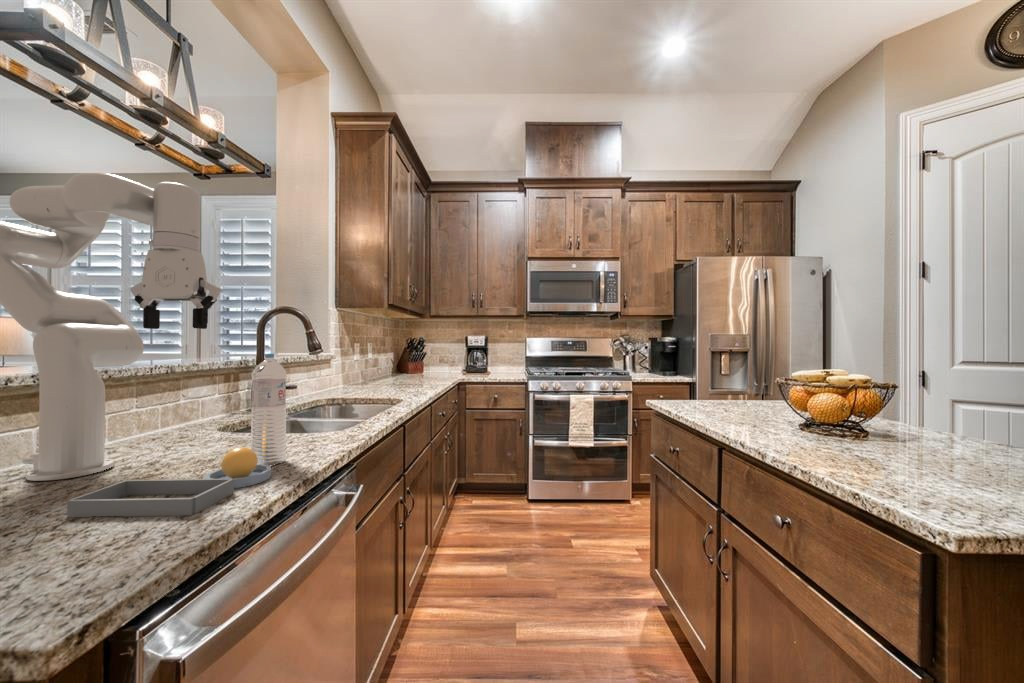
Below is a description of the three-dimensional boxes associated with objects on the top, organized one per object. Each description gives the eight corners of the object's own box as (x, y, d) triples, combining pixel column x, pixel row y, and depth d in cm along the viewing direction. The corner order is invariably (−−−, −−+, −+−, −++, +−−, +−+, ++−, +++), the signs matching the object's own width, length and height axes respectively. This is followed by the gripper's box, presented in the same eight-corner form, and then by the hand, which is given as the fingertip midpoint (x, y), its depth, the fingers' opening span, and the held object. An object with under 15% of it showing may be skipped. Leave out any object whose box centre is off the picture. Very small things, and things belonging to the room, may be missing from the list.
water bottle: (269, 468, 88) (270, 353, 88) (242, 467, 89) (244, 353, 90) (292, 460, 95) (293, 353, 95) (267, 458, 96) (268, 353, 97)
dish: (190, 490, 74) (190, 480, 74) (229, 472, 85) (229, 464, 85) (250, 489, 75) (250, 480, 75) (281, 471, 86) (281, 463, 86)
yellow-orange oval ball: (212, 482, 77) (214, 450, 77) (233, 472, 83) (234, 443, 83) (244, 483, 77) (246, 451, 77) (263, 473, 83) (264, 444, 83)
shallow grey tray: (64, 517, 62) (65, 501, 62) (125, 494, 73) (126, 480, 73) (192, 515, 63) (192, 499, 63) (235, 492, 73) (235, 478, 73)
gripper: (116, 240, 80) (115, 327, 79) (206, 241, 80) (205, 327, 80) (149, 250, 87) (148, 329, 87) (231, 250, 88) (230, 329, 87)
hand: (175, 328), depth 83 cm, fingers open, 9 cm apart
